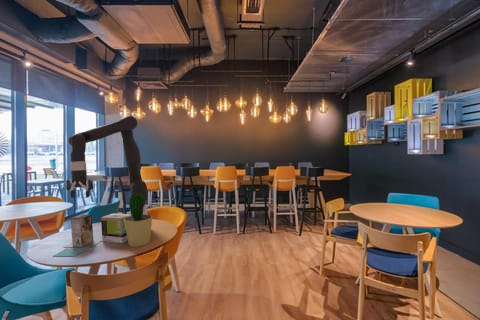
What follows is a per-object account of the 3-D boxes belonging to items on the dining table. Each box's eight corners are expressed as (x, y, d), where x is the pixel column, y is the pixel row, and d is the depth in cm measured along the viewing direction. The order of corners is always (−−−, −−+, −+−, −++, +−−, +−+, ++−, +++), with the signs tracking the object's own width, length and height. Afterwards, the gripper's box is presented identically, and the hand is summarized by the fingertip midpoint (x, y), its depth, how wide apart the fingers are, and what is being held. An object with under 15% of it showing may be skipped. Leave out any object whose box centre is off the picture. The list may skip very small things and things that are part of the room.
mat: (87, 248, 146) (87, 248, 146) (75, 256, 136) (75, 255, 136) (66, 248, 146) (66, 248, 146) (52, 256, 136) (52, 256, 136)
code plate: (101, 240, 158) (101, 240, 158) (91, 247, 148) (91, 246, 148) (75, 241, 159) (75, 240, 159) (63, 247, 149) (63, 247, 149)
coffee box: (84, 240, 158) (82, 213, 157) (93, 241, 157) (92, 214, 156) (71, 246, 149) (70, 218, 148) (81, 246, 148) (80, 218, 147)
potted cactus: (142, 249, 143) (139, 194, 141) (118, 246, 148) (115, 193, 146) (158, 239, 158) (156, 189, 156) (137, 237, 162) (134, 188, 161)
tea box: (134, 237, 162) (133, 214, 161) (121, 243, 152) (120, 218, 151) (114, 235, 167) (113, 212, 166) (101, 241, 157) (100, 216, 156)
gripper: (94, 168, 154) (96, 196, 155) (71, 168, 155) (72, 196, 156) (86, 169, 147) (88, 198, 148) (62, 170, 147) (63, 199, 148)
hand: (80, 197), depth 152 cm, fingers open, 8 cm apart
